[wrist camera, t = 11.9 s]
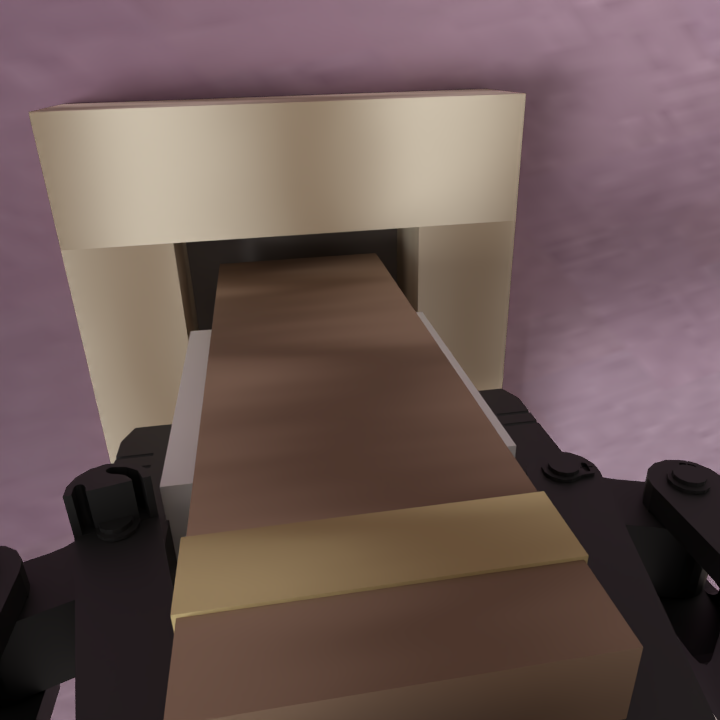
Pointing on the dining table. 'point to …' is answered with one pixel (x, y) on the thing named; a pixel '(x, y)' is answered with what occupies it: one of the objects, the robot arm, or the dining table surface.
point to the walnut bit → (371, 528)
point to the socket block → (276, 217)
